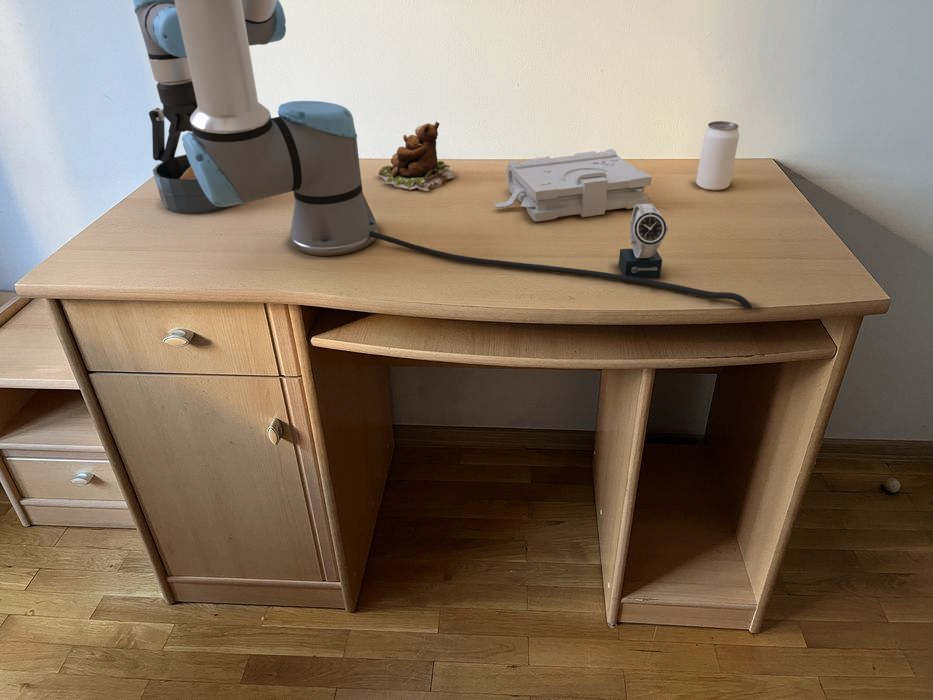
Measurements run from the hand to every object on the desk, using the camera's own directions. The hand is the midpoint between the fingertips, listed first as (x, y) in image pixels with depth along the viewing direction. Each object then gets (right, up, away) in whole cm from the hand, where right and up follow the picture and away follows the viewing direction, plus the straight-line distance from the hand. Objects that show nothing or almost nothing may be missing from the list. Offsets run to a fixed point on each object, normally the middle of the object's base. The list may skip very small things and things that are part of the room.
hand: (206, 193), depth 138 cm
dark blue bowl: (0, -1, 0) cm, 1 cm away
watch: (+81, -20, -32) cm, 89 cm away
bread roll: (0, 0, 0) cm, 0 cm away
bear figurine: (+43, +5, +6) cm, 44 cm away
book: (+73, -3, -7) cm, 73 cm away
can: (+103, +1, -2) cm, 103 cm away
